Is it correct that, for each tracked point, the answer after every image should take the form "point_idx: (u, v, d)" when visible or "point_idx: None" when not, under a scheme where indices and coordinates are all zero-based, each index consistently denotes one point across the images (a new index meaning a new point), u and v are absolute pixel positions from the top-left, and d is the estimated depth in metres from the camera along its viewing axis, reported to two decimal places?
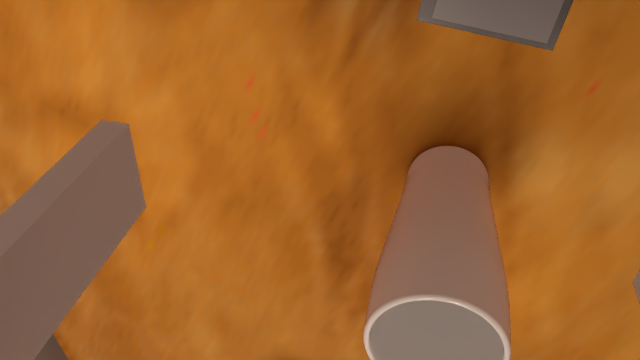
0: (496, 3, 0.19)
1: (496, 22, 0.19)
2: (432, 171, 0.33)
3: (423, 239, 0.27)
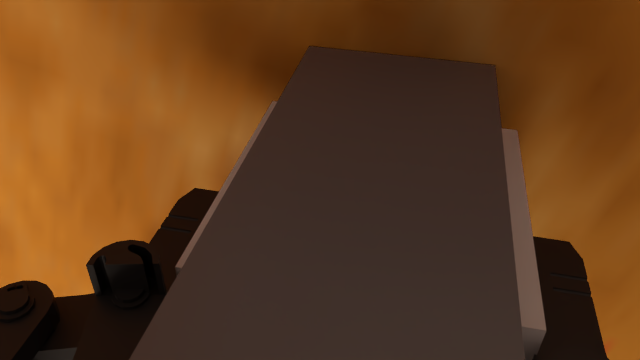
0: None
1: None
2: None
3: None
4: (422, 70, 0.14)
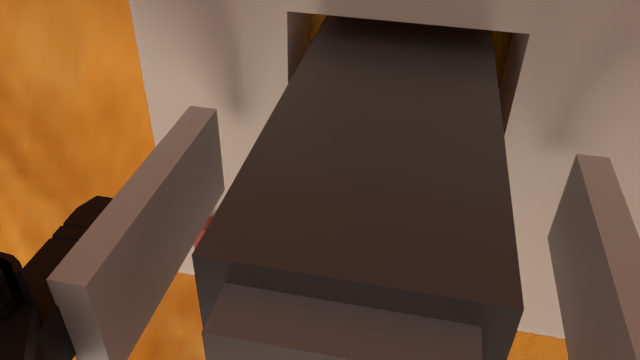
0: None
1: None
2: None
3: None
4: None
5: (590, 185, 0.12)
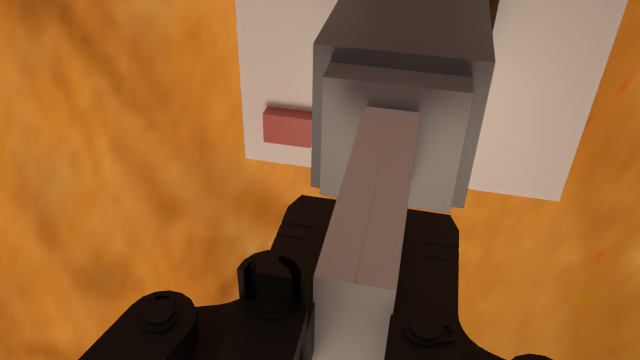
0: None
1: None
2: None
3: None
4: None
5: (390, 134, 0.14)
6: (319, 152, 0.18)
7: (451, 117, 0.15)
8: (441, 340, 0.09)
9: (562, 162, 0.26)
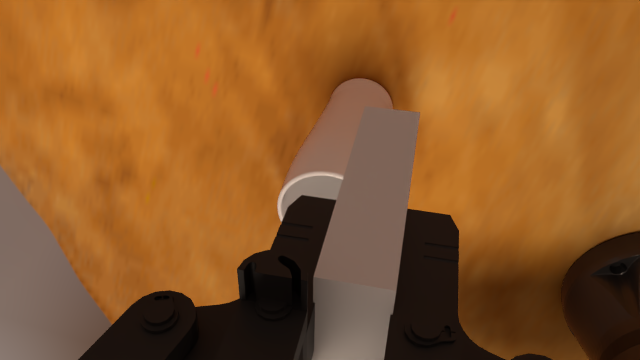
0: None
1: None
2: (338, 97, 0.43)
3: (316, 140, 0.37)
4: None
5: (390, 134, 0.14)
6: None
7: None
8: (441, 340, 0.09)
9: None
